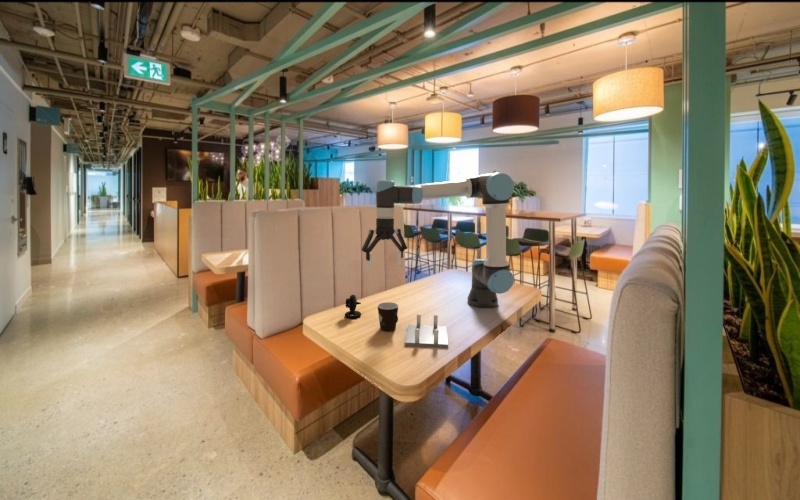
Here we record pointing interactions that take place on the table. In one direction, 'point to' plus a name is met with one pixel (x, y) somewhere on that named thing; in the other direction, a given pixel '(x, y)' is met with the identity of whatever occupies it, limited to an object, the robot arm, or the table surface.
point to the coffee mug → (388, 316)
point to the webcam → (352, 307)
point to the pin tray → (426, 334)
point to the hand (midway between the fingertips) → (384, 266)
